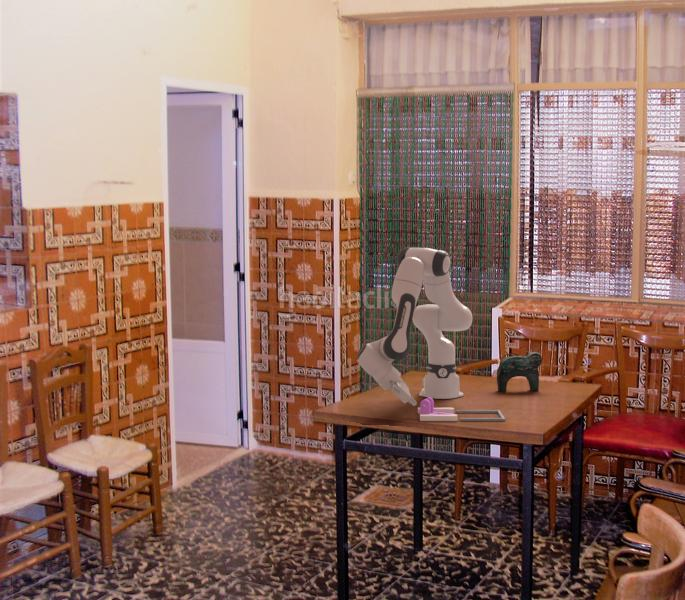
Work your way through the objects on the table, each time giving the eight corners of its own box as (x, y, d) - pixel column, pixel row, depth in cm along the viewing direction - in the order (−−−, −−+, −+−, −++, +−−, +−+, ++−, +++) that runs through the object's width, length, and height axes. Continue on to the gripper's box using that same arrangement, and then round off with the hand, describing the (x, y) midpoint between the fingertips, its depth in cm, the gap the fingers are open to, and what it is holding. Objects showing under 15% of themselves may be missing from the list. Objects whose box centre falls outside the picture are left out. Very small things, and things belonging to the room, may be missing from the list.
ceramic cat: (539, 389, 432) (540, 344, 430) (543, 391, 426) (544, 346, 424) (495, 390, 430) (495, 344, 428) (499, 393, 423) (499, 347, 421)
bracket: (420, 417, 376) (420, 399, 376) (424, 414, 381) (424, 396, 381) (452, 420, 371) (452, 402, 371) (456, 417, 376) (457, 399, 376)
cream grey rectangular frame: (417, 412, 384) (417, 407, 384) (499, 412, 384) (499, 407, 383) (420, 421, 369) (420, 415, 369) (505, 421, 369) (505, 416, 369)
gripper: (397, 378, 365) (423, 404, 366) (395, 368, 385) (419, 393, 386) (385, 390, 365) (411, 416, 366) (383, 380, 386) (408, 404, 387)
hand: (415, 404), depth 376 cm, fingers closed
